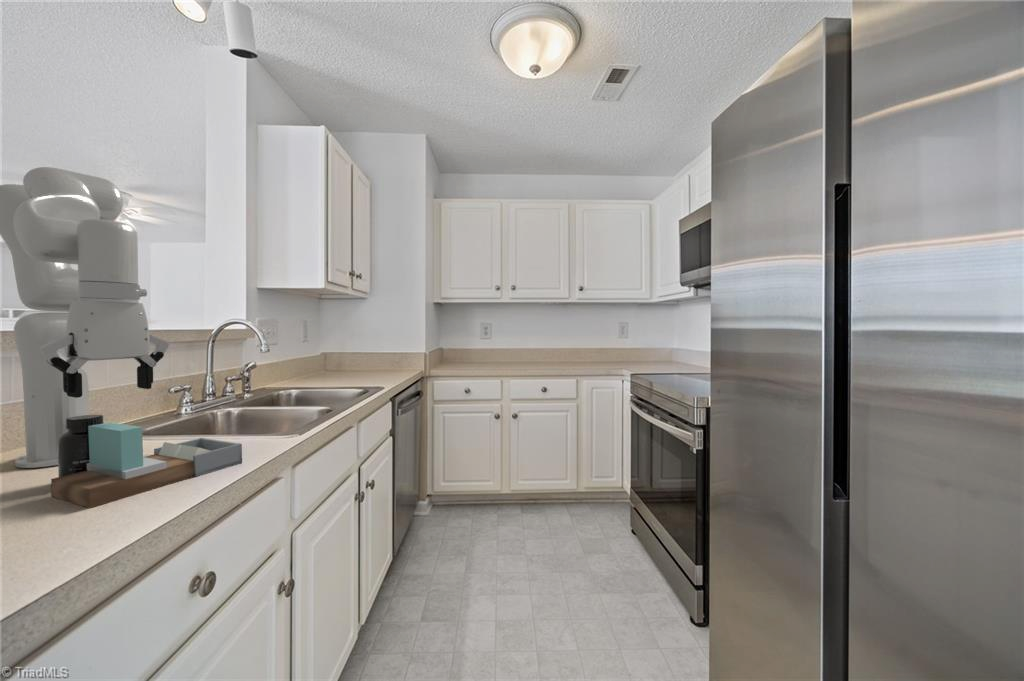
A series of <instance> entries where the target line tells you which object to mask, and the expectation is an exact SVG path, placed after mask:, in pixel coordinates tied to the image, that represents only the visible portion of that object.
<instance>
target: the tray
mask: <svg viewBox="0 0 1024 681" xmlns="http://www.w3.org/2000/svg"><path fill="white" fill-rule="evenodd" d="M176 444H178V445H186V446H193V447H199V448H203V449H206V450H210V451H209V452H205V453H201V454H197V455H194V456H193V461H194V477H193V478H197V477H200V475H201V476H203V474H204V475H207V474H209V473H213V471H214V472H216V470H217V471H221V470H223V469H226V467H227V468H230V467H233V466H236V465H240V464H242V463H243V445H242V443H240V442H233V441H232V442H231V441H227V440H226V441H225V440H218V439H212V438H204V437H201V438H200V437H199V438H195V439H192V440H187V441H182V442H179V443H178V442H177V443H176ZM161 448H162V446H161V447H157V448H154V449H153V453H154V454H159V452H160V450H161ZM154 454H153V455H154ZM206 473H207V474H206ZM196 476H197V477H196Z"/></svg>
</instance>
